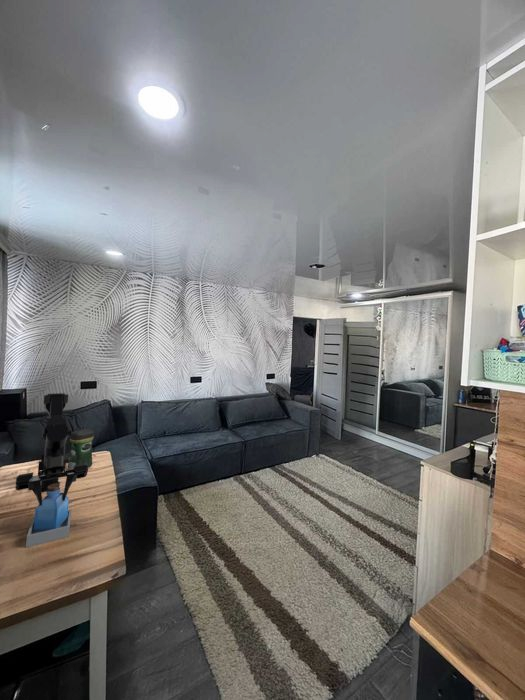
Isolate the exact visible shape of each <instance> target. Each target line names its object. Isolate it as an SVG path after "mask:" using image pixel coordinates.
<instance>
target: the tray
mask: <svg viewBox="0 0 525 700" xmlns="http://www.w3.org/2000/svg"><path fill="white" fill-rule="evenodd" d="M71 517H72V509H68V517H67V518H66V519H65V520H64V522H63V523H62V524H61V525H60V526H59V527H58V528H56V529H52V530H34V522H35V516H33V517H32V519H31V522H30V526H29V529H28V533H27V535H26V543H25V545H26V546H25V548H26V549H27V548H31V547H34V546H38V545H42V544H47V543H50V542H54V541H58V540H63V539H65V537H67V538H69V536H70V528H71V521H70V520H71V519H72V518H71ZM62 538H63V539H62Z"/></svg>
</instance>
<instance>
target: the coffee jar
mask: <svg viewBox="0 0 525 700" xmlns="http://www.w3.org/2000/svg"><path fill="white" fill-rule="evenodd" d="M69 436H70V437H69V443H70V451H69V452H72V462H70V463H67V470H72V469H74V465H80V464H87V465H88V468H90V467H92V465H93V440H94V437H95V433H94V430H93V428H89V427H88V428H84V429H79V430H75V431H71V434H70V435H69Z"/></svg>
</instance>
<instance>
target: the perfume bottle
mask: <svg viewBox="0 0 525 700" xmlns="http://www.w3.org/2000/svg"><path fill="white" fill-rule="evenodd" d="M60 486H61V483H60V484H58V483H55V484H51V485H49V486H48V490H47V491H46V496H45V497H44V498H42V506H40V504H39V503H38V504H37V507H36V508H35V510H34V517H35V522H34V530H52V529H56V528H58V527H59V526H60V525H61V524H62V523H63V522H64V520H65V519H66V518H67V517H68V510H69V503H70V502H69V501H70V498H69V497H68V495H66V498H65V501H63V495H64V492H61V487H60Z"/></svg>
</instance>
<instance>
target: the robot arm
mask: <svg viewBox="0 0 525 700" xmlns="http://www.w3.org/2000/svg"><path fill="white" fill-rule="evenodd" d="M68 403H69V394H66V393H64V392H62V393H59V392H58V393H47V394H45V395H43V403H42V405H45V406H44V407H45V408H44V409H45V411H46V412H47V414H48V419H47V420H45V426H44V427H42V436H41V437H42V439H44V440H45V444H44V453H43V454H42V455H41V458H40V459H41V460H40V461H38V465H37V466H38V467H37V475H36V474H35V475H34V472H28V473H27V472H26V473H22V474H18V475H17V476H16V477H15V478H16V479H15V490H16V491H21V490H27V491H32V492H33V494H34V495H35V497H36V499H37V501H38V505H39V504H40V506H42V499H43V495H42V493H47V490H48V486H49V485H51V484H55V483H58V484H60V485H61V481H59V479H60V478H65V477H66V479H65V483H64V484H65V485H64V490H63V493H64V495H63V501H65V498H66V496H68V492H69V490H70V488H71V486H72V484H73V483H74V482H76V481H77V479H82V478H84V479H85V478H86V477H87V475H88V471H89V467H88V465H87V464H80V465H74V469H72V470H69V469H66V466H67V464H68V463H70V462H72V452H70V451H69V452H66V444H67V441H68V436H70V435H71V433H72V428H71V427H70V425H69V424H68V420H67V418H65V417H64V414H63V413H64V410H65V408H66V404H68Z"/></svg>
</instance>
